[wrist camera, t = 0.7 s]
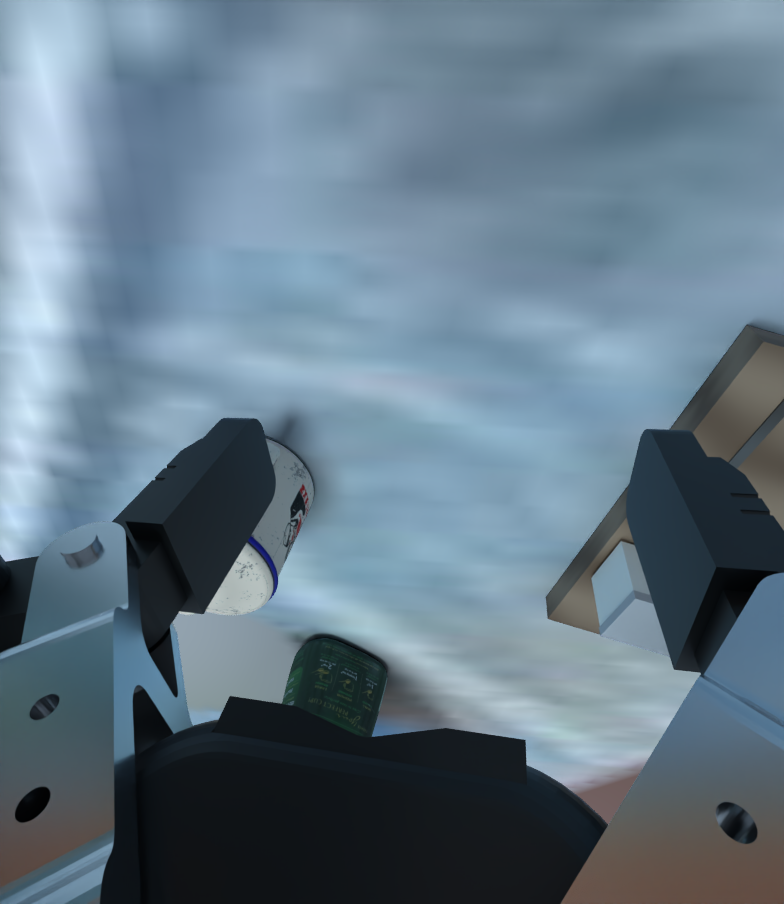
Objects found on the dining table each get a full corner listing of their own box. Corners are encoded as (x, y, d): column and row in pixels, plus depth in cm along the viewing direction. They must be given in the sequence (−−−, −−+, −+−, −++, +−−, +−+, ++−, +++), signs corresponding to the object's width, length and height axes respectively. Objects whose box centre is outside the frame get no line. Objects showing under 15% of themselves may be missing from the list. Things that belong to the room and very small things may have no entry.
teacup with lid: (294, 537, 40) (232, 668, 31) (192, 486, 39) (97, 608, 30) (354, 442, 33) (297, 577, 24) (233, 375, 32) (123, 492, 23)
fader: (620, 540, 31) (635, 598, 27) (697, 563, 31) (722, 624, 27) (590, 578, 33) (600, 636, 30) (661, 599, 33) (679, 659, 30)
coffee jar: (288, 655, 52) (204, 874, 38) (318, 625, 48) (236, 861, 33) (364, 692, 54) (313, 914, 40) (401, 666, 49) (357, 908, 35)
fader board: (746, 324, 24) (764, 342, 22) (1097, 428, 24) (1140, 453, 22) (546, 597, 39) (547, 619, 37) (761, 662, 39) (772, 687, 37)
